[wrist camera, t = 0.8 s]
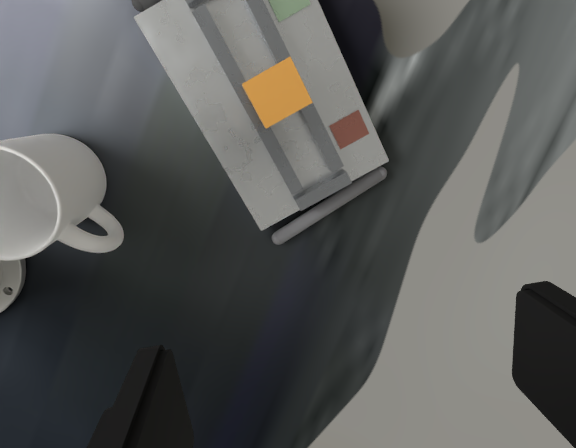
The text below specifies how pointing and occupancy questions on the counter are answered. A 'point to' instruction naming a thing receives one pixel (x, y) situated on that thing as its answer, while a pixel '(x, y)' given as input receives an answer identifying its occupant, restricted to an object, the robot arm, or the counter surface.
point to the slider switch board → (240, 112)
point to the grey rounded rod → (329, 205)
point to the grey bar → (144, 4)
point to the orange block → (277, 92)
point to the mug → (52, 196)
